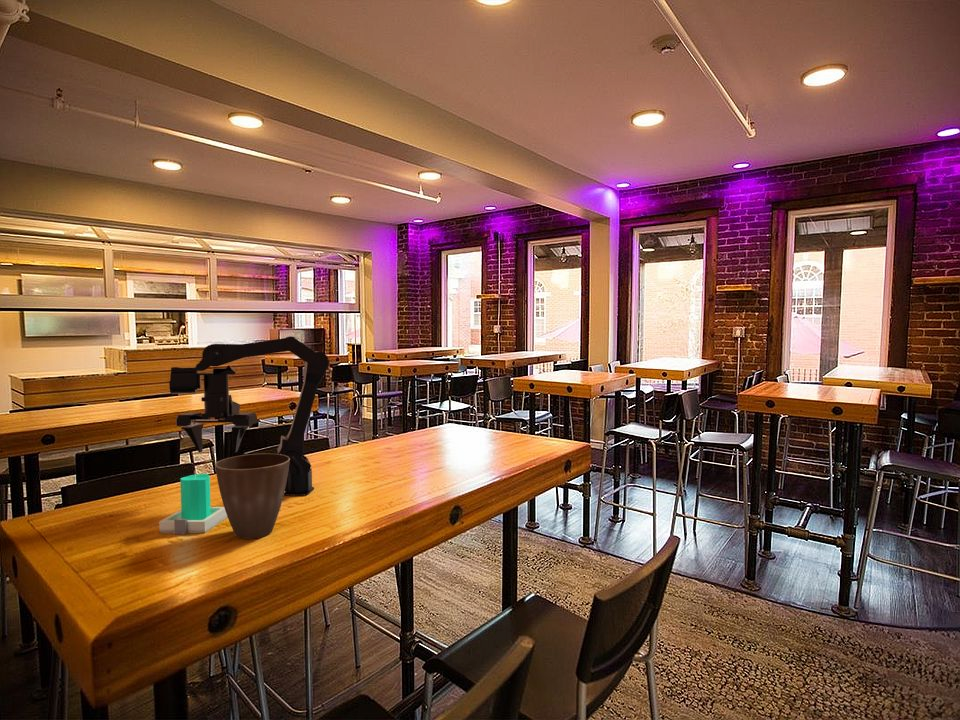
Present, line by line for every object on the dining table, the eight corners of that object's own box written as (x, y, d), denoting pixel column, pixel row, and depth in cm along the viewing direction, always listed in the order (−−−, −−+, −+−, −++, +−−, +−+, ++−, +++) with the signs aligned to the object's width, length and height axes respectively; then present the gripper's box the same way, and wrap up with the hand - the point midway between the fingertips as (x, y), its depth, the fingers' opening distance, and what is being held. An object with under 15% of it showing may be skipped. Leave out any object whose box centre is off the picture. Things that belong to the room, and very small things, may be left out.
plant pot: (269, 516, 126) (268, 450, 125) (304, 531, 116) (303, 459, 116) (204, 535, 114) (202, 461, 114) (237, 552, 105) (235, 473, 104)
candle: (184, 529, 116) (182, 475, 116) (179, 521, 121) (177, 469, 120) (214, 522, 120) (212, 470, 119) (207, 515, 125) (206, 465, 124)
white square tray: (227, 517, 125) (227, 504, 125) (203, 534, 115) (202, 519, 114) (185, 517, 126) (185, 504, 125) (157, 534, 115) (156, 519, 115)
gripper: (265, 389, 144) (266, 445, 145) (197, 389, 144) (199, 445, 145) (247, 393, 133) (248, 454, 134) (173, 393, 133) (175, 454, 134)
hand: (218, 452), depth 137 cm, fingers open, 9 cm apart
